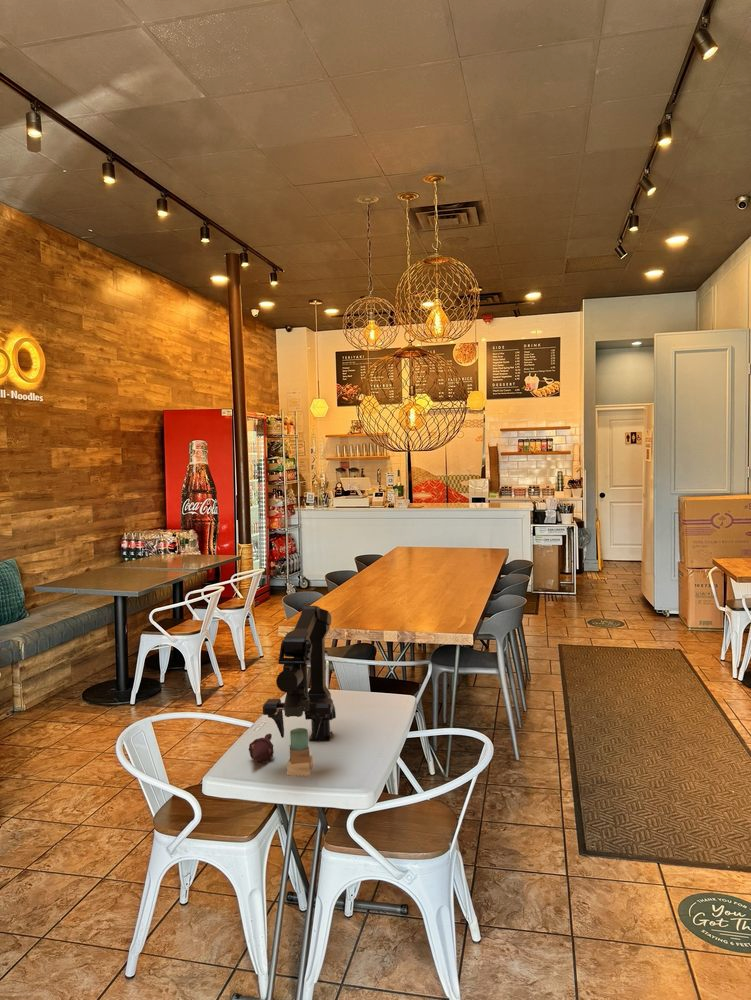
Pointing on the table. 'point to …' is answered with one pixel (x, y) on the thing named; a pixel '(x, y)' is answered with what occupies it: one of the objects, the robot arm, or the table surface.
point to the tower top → (299, 756)
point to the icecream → (261, 749)
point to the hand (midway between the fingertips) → (299, 737)
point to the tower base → (300, 768)
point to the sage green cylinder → (299, 739)
